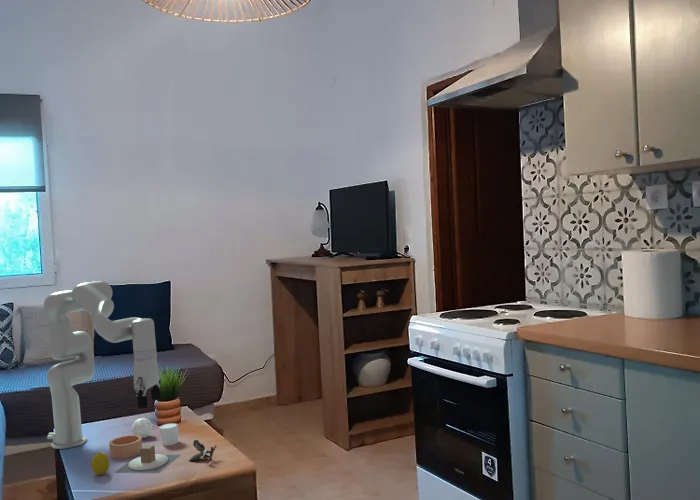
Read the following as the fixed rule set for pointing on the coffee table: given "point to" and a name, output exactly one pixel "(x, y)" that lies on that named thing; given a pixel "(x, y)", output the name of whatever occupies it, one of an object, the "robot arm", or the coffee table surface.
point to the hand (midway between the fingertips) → (149, 403)
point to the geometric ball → (142, 427)
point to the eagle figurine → (201, 451)
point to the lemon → (100, 463)
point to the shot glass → (169, 434)
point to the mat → (157, 470)
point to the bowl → (125, 446)
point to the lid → (148, 459)
